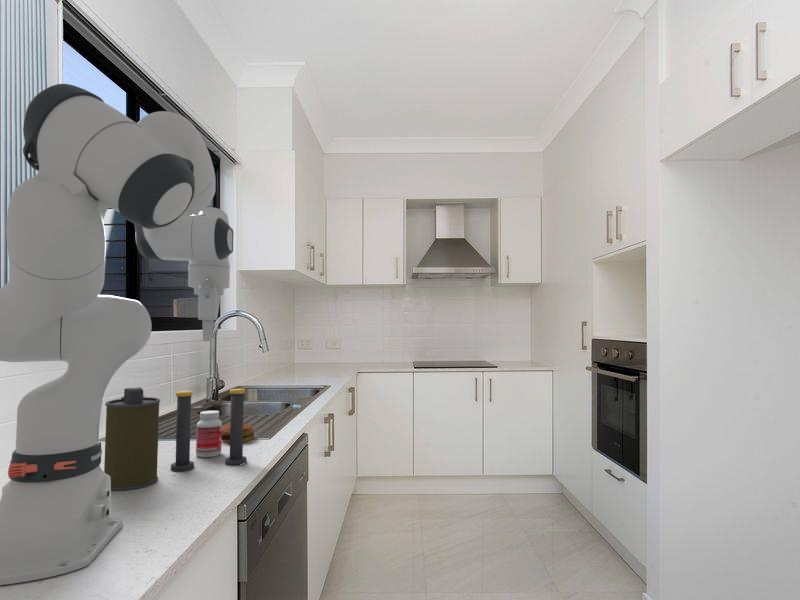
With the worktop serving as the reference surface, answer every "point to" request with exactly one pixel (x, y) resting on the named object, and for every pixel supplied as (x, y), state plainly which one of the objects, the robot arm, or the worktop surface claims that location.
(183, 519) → the worktop surface
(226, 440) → the burger
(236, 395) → the post right
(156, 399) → the canister
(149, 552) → the worktop surface
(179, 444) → the post left
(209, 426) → the pill bottle
